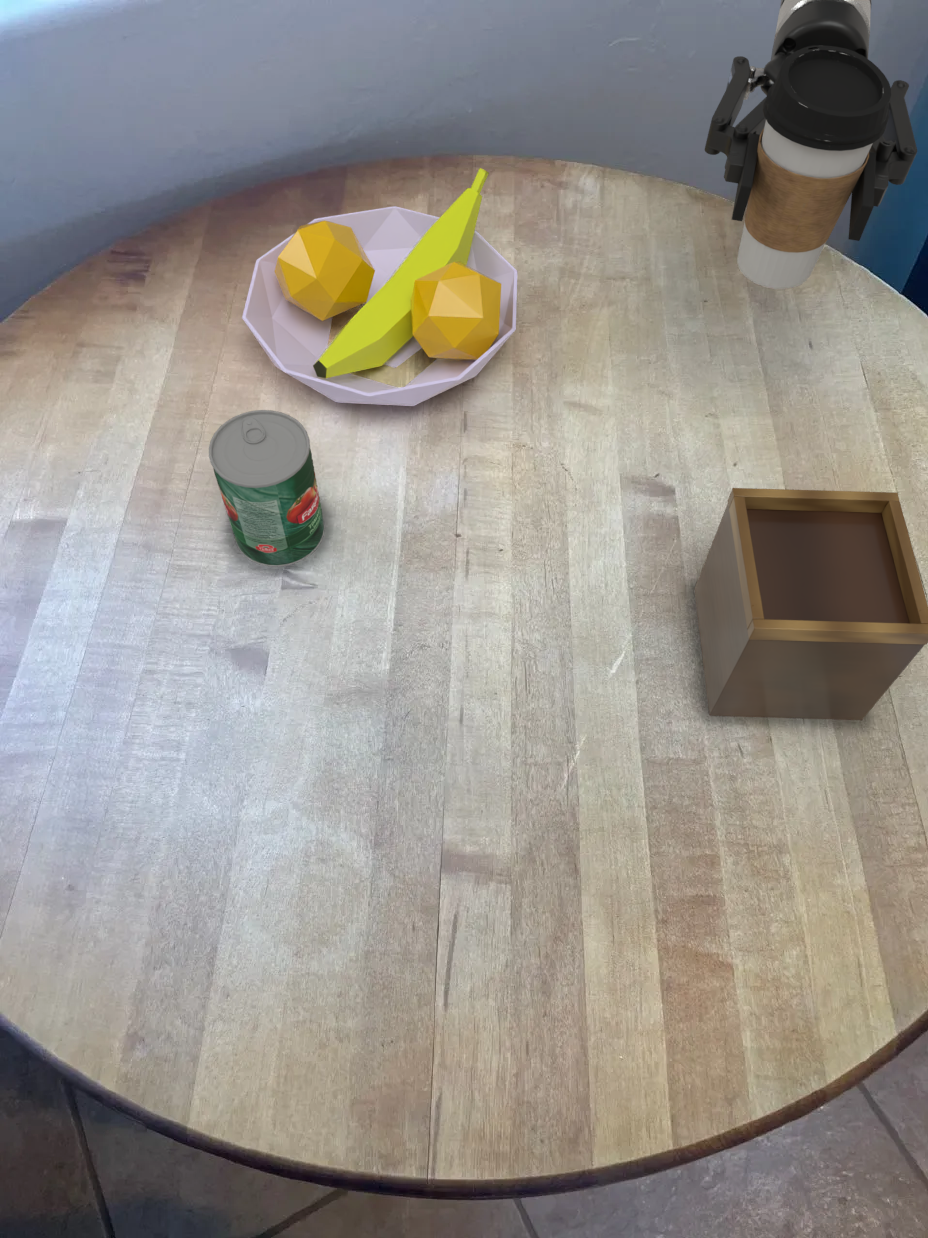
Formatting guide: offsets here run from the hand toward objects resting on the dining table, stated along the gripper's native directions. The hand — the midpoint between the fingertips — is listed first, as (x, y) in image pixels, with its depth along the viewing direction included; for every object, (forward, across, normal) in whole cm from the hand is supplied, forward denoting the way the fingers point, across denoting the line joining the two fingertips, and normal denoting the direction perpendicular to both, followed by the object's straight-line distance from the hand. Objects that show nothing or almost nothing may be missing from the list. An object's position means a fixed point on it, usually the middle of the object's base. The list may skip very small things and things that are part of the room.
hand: (800, 213), depth 68 cm
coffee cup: (-5, 0, -8) cm, 10 cm away
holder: (+20, -7, -26) cm, 33 cm away
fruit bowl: (-8, +33, -26) cm, 43 cm away
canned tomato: (+18, +36, -26) cm, 48 cm away
